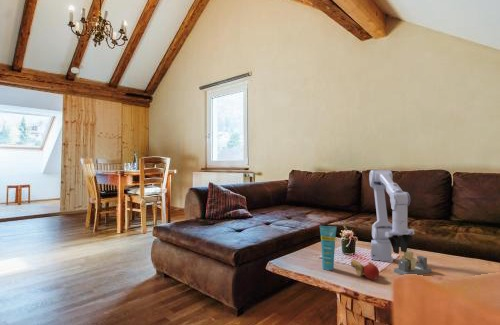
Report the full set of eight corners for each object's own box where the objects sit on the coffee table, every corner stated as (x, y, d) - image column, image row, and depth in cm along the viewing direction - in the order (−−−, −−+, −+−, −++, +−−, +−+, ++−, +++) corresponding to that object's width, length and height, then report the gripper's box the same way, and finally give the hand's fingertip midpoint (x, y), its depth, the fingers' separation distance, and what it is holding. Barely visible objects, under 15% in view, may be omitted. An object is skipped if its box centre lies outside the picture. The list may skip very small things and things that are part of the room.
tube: (319, 269, 130) (319, 226, 130) (320, 265, 135) (319, 224, 135) (336, 271, 128) (336, 227, 128) (336, 267, 133) (336, 225, 133)
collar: (411, 269, 124) (411, 253, 123) (402, 266, 128) (402, 250, 128) (415, 269, 124) (415, 252, 124) (406, 265, 129) (406, 249, 129)
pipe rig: (405, 276, 122) (405, 262, 121) (394, 271, 127) (394, 258, 127) (431, 272, 127) (431, 258, 127) (419, 267, 132) (419, 254, 132)
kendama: (344, 269, 134) (365, 279, 116) (345, 255, 135) (366, 263, 117) (360, 271, 135) (383, 282, 117) (361, 257, 136) (384, 266, 118)
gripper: (394, 223, 118) (394, 257, 118) (420, 221, 123) (420, 253, 123) (381, 220, 125) (381, 252, 125) (406, 218, 130) (406, 248, 130)
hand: (399, 252), depth 124 cm, fingers open, 4 cm apart
